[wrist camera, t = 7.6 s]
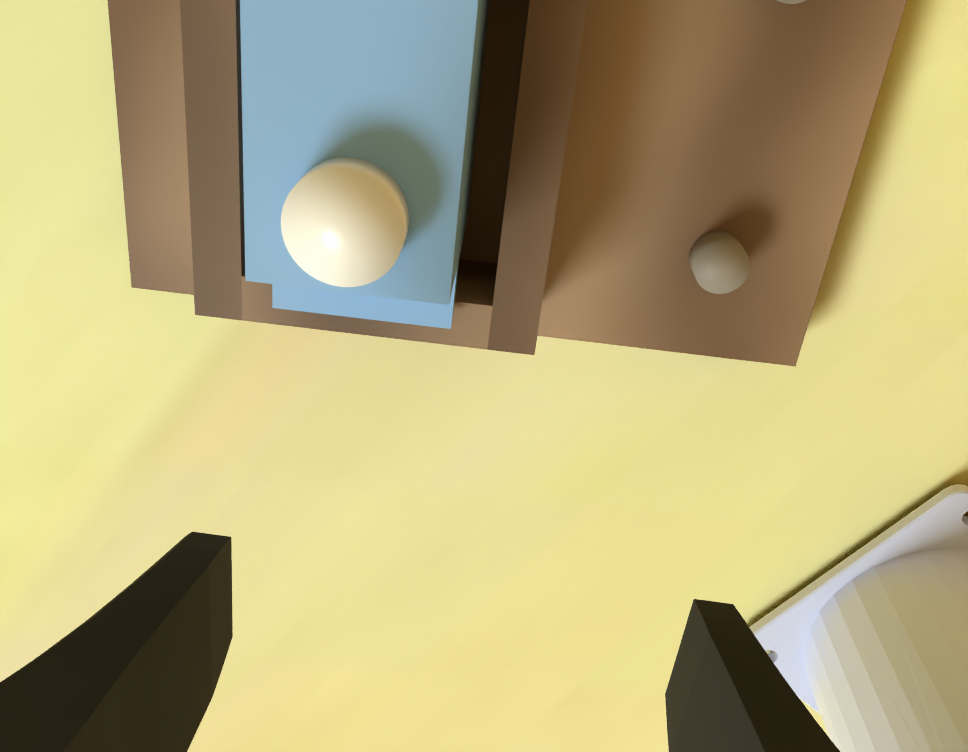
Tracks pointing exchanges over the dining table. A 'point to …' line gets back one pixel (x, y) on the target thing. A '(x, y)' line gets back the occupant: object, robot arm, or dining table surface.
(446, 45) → the block
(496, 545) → the dining table surface
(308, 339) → the dining table surface
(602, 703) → the dining table surface
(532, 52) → the board
